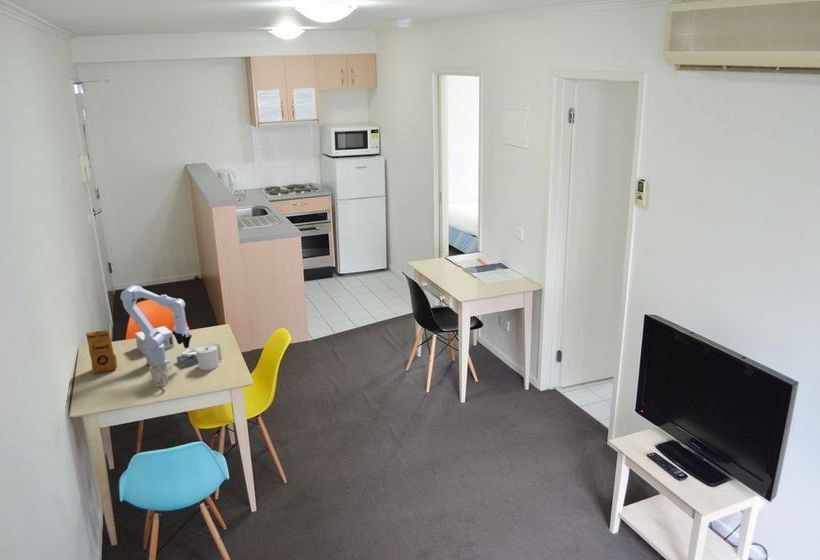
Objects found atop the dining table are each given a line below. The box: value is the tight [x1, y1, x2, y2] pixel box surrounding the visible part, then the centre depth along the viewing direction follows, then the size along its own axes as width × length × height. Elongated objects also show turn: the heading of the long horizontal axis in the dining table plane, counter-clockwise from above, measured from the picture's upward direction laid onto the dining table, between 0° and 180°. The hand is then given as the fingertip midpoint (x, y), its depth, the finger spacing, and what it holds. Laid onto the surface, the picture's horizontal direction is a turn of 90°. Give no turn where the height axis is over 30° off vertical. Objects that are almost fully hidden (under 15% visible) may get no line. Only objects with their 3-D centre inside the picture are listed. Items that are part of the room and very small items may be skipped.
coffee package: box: [85, 329, 118, 374], centre depth 343 cm, size 10×12×22 cm
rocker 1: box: [180, 347, 195, 356], centre depth 354 cm, size 6×3×1 cm, turn 133°
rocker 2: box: [185, 351, 197, 357], centre depth 351 cm, size 6×3×1 cm, turn 134°
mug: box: [149, 363, 170, 388], centre depth 326 cm, size 8×13×10 cm, turn 51°
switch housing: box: [176, 350, 198, 368], centre depth 353 cm, size 11×9×5 cm
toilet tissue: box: [195, 343, 223, 371], centre depth 347 cm, size 11×12×10 cm
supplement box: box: [134, 325, 175, 356], centre depth 371 cm, size 17×13×9 cm
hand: (183, 345), depth 349 cm, fingers open, 7 cm apart
